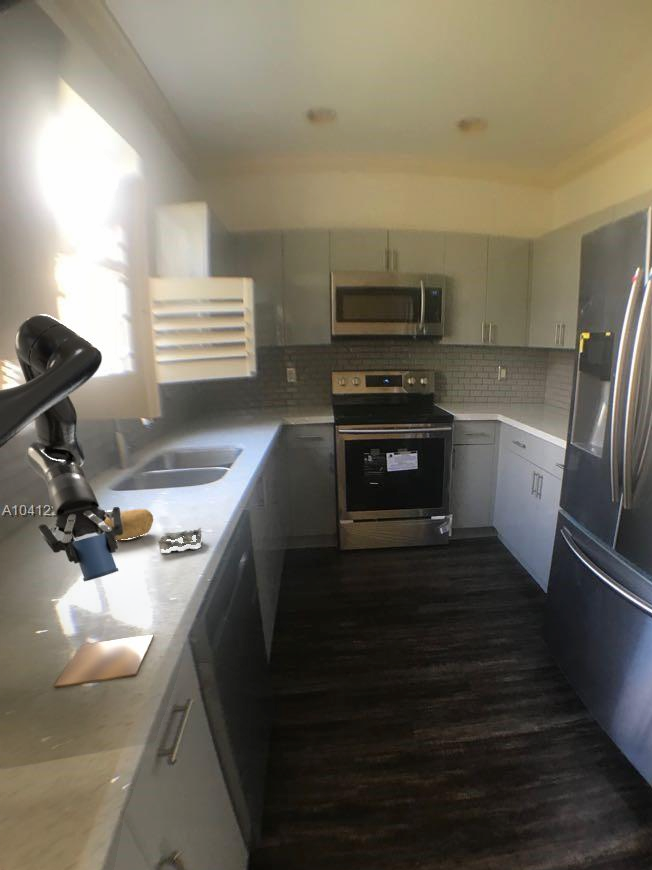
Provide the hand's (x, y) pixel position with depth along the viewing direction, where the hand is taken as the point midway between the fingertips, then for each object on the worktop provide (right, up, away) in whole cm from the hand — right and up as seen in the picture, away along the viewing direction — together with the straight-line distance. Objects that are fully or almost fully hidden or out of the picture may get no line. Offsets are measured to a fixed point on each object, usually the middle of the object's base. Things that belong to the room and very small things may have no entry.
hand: (94, 554), depth 84 cm
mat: (+6, -18, -6) cm, 19 cm away
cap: (0, -4, +2) cm, 5 cm away
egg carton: (-1, -2, +38) cm, 38 cm away
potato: (-18, 0, +45) cm, 48 cm away
